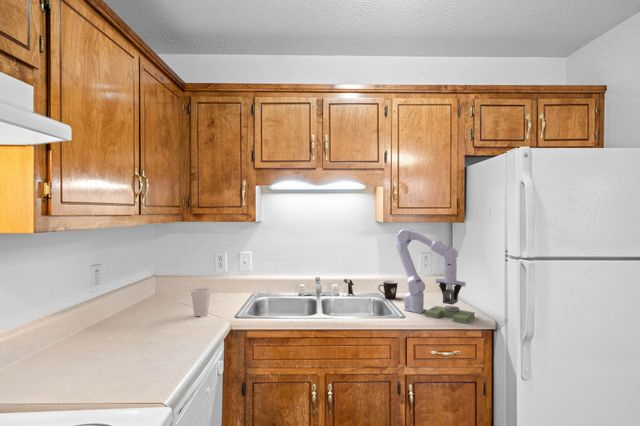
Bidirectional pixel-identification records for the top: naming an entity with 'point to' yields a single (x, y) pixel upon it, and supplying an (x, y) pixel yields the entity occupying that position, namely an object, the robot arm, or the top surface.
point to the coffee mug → (389, 289)
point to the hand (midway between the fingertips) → (450, 298)
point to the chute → (447, 297)
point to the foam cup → (200, 301)
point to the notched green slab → (451, 313)
